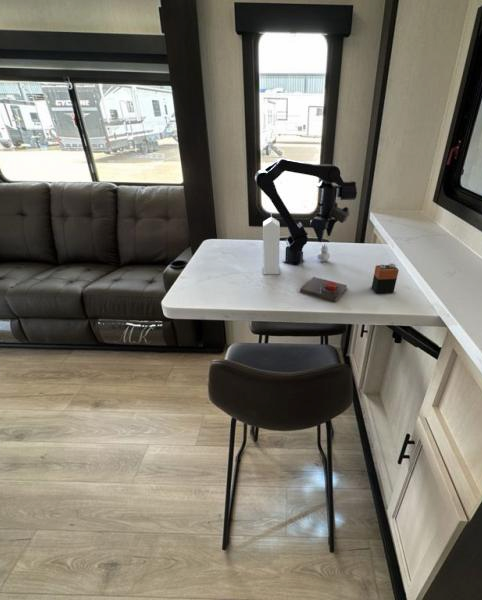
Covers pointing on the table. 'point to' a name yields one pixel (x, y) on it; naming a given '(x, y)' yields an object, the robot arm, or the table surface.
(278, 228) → the milk
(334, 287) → the button
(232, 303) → the table surface
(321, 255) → the white bunny figurine
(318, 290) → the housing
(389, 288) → the battery
